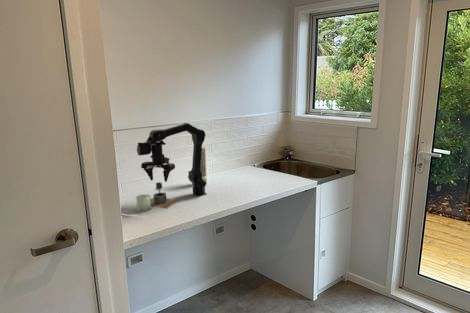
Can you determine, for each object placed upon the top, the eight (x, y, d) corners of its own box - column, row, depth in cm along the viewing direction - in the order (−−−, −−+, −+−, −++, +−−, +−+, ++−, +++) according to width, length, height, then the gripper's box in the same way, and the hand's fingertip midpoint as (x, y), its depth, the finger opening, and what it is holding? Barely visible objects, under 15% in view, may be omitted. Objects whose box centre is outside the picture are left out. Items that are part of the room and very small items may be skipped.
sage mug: (153, 209, 192) (152, 195, 191) (143, 215, 184) (142, 200, 183) (143, 208, 195) (141, 193, 193) (132, 213, 187) (131, 198, 186)
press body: (170, 200, 204) (169, 192, 203) (162, 205, 196) (161, 197, 195) (160, 199, 206) (159, 191, 205) (151, 203, 199) (151, 195, 198)
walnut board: (180, 201, 203) (180, 200, 203) (167, 209, 191) (167, 208, 191) (154, 198, 210) (154, 197, 210) (139, 206, 198) (139, 204, 198)
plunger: (165, 194, 201) (164, 182, 199) (160, 196, 197) (159, 184, 195) (158, 193, 202) (157, 181, 201) (154, 195, 198) (153, 183, 197)
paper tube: (196, 183, 240) (194, 146, 235) (206, 182, 241) (205, 145, 235) (196, 185, 233) (194, 148, 228) (206, 185, 234) (205, 147, 229)
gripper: (179, 151, 199) (181, 178, 202) (151, 149, 206) (153, 176, 209) (168, 155, 189) (170, 184, 192) (139, 153, 196) (141, 181, 199)
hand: (158, 181), depth 198 cm, fingers open, 9 cm apart
